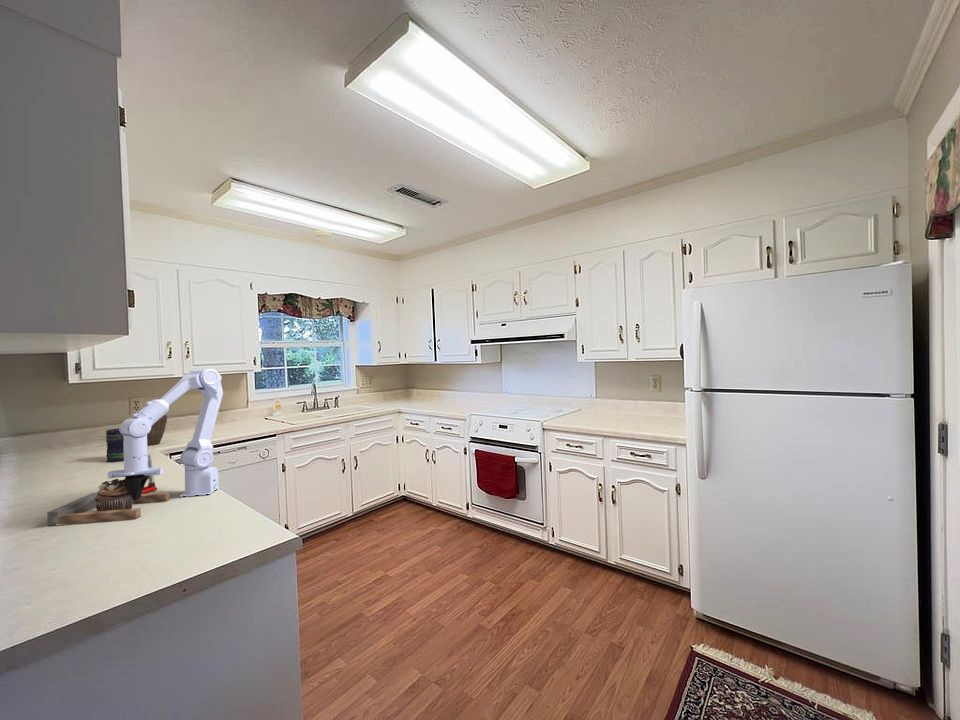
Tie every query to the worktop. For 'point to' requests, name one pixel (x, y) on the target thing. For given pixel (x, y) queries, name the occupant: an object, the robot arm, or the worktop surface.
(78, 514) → the guide track
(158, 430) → the plant pot
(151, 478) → the tow hook
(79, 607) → the worktop surface
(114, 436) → the storage jar
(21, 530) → the worktop surface
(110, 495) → the cupcake
